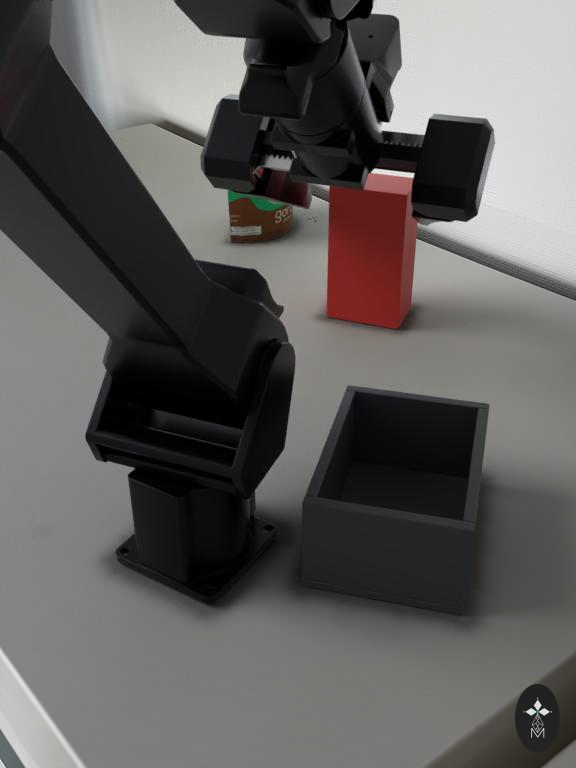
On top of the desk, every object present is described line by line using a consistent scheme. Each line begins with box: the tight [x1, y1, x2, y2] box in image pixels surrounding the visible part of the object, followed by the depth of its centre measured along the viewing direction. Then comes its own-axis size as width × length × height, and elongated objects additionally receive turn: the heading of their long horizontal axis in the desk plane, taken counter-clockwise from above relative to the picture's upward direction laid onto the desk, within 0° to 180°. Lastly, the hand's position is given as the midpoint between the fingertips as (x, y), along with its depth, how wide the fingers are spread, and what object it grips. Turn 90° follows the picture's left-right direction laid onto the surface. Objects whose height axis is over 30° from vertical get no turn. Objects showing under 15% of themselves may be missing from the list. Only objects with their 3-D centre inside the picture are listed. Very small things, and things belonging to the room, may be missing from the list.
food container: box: [227, 190, 294, 244], centre depth 85 cm, size 12×6×10 cm, turn 168°
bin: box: [301, 384, 490, 616], centre depth 47 cm, size 11×8×6 cm
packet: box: [326, 172, 419, 330], centre depth 68 cm, size 4×6×11 cm, turn 68°
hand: (366, 210), depth 65 cm, fingers open, 9 cm apart
